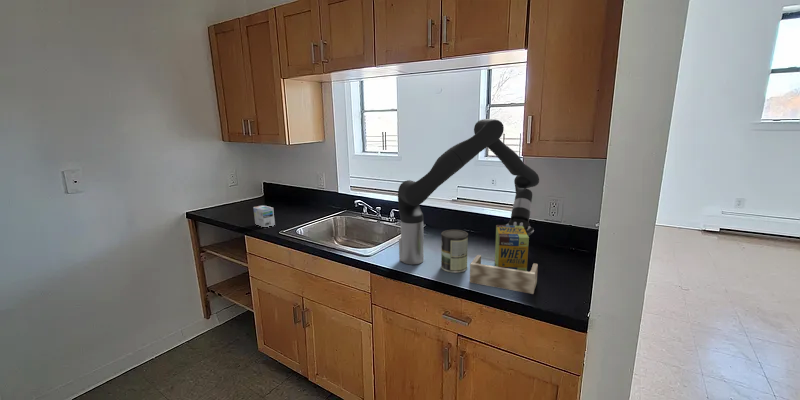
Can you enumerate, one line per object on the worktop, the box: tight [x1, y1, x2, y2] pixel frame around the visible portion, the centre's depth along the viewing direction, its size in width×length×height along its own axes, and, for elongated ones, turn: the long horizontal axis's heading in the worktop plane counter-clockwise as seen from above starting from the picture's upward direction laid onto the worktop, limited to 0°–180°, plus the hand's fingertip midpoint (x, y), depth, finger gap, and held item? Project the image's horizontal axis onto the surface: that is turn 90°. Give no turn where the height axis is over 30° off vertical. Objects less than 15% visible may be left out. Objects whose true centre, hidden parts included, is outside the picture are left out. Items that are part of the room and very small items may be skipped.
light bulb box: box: [252, 204, 276, 228], centre depth 206 cm, size 11×7×11 cm, turn 49°
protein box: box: [494, 224, 530, 271], centre depth 140 cm, size 10×15×16 cm
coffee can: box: [440, 229, 469, 274], centre depth 142 cm, size 10×10×14 cm
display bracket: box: [469, 254, 539, 295], centre depth 129 cm, size 22×10×7 cm, turn 64°
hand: (514, 246), depth 150 cm, fingers closed
